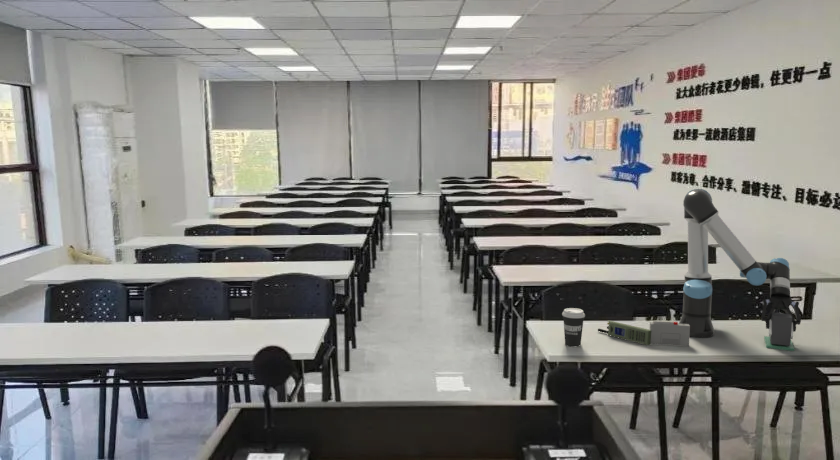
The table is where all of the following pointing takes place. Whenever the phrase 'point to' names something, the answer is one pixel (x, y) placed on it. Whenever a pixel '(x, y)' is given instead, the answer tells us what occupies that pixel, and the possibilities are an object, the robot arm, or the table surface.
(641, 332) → the handheld radio
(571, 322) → the coffee cup
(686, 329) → the cassette player
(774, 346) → the header board
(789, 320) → the block
